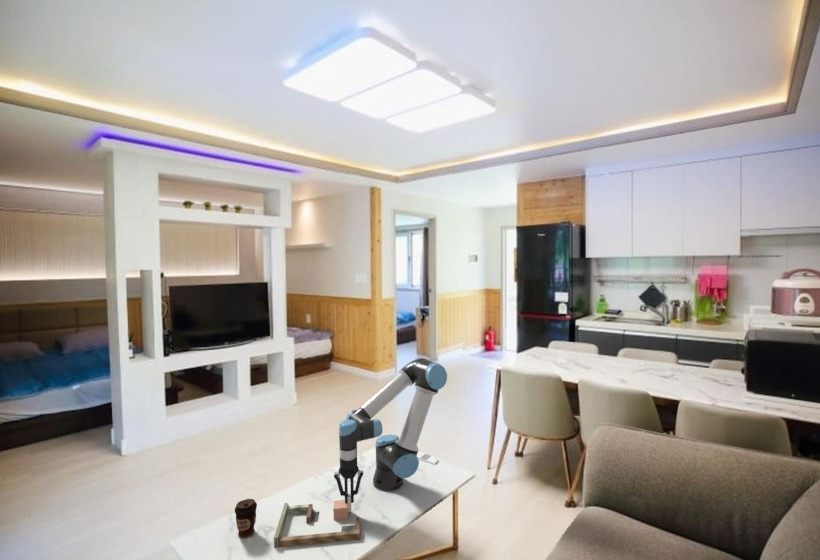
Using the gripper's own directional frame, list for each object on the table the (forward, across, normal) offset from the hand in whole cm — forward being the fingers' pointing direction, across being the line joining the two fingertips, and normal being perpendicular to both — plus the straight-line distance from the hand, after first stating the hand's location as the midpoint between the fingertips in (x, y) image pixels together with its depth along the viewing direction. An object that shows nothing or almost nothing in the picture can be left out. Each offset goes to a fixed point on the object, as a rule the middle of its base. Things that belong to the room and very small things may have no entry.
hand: (349, 509), depth 179 cm
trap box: (+2, +13, +5) cm, 14 cm away
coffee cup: (+3, +42, +7) cm, 42 cm away
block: (+2, +4, 0) cm, 4 cm away
